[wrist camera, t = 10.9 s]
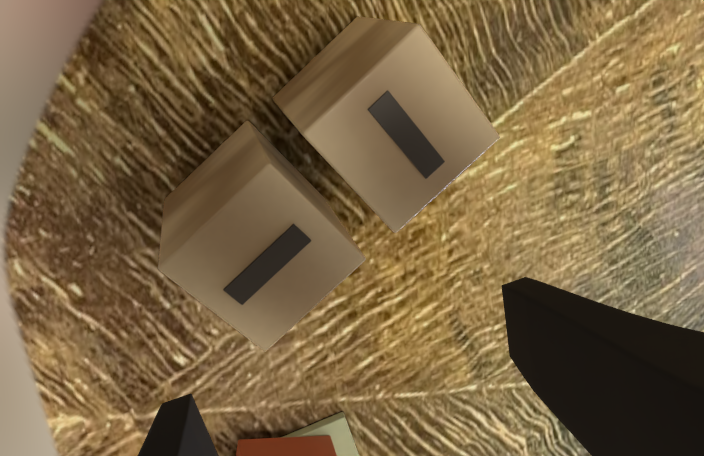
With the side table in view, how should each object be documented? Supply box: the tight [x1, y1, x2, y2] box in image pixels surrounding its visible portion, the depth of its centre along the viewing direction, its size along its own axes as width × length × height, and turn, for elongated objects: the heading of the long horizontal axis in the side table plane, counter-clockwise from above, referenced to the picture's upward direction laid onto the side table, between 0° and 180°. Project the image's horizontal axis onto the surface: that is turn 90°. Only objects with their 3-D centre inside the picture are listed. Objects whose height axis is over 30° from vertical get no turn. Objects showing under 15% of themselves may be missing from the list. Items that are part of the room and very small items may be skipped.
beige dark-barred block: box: [158, 121, 366, 351], centre depth 18 cm, size 4×4×6 cm
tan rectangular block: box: [273, 16, 500, 233], centre depth 17 cm, size 4×4×6 cm
